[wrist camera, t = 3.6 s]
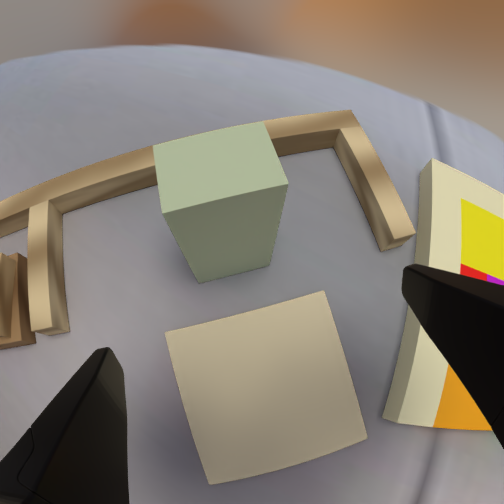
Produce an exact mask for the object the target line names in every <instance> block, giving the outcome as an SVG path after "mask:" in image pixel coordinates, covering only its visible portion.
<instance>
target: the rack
mask: <svg viewBox="0 0 504 504" xmlns="http://www.w3.org/2000/svg"><path fill="white" fill-rule="evenodd" d="M260 122H261V121H260ZM263 122H264V125H265V127H266V129H267V132H268V134H269V136H270V139H271V141H272V144H273V146H274V149H275V151H276V153H277V156H278V157H279V156H284V155H289V154H295V153H301V152H307V151H313V150H319V149H325V148H331V147H334V149H335V151H336V153H337V155H338V157H339V159H340V161H341V163H342V165H343V167H344V169H345V171H346V174H347V176H348V178H349V180H350V182H351V184H352V186H353V188H354V190H355V193H356V195H357V197H358V199H359V201H360V204H361V206H362V208H363V210H364V213H365V215H366V217H367V219H368V222H369V224H370V226H371V229H372V231H373V234H374V236H375V238H376V241H377V243H378V246H379V248H380V251H381V252H382V251H385V250H389V249H392V248H395V247H398V246H401V245H403V244H404V243H405V242H406V241H407V240H408V239H410V238H411V237H412V236H413V235H414V234H415V233H416V232H415V230H414V228H413V225H412V223H411V221H410V219H409V217H408V214H407V212H406V210H405V208H404V206H403V204H402V202H401V200H400V197H399V195H398V193H397V191H396V189H395V187H394V185H393V183H392V181H391V179H390V178H389V176H388V174H387V172H386V170H385V168H384V166H383V164H382V162H381V161H380V159H379V157H378V155H377V153H376V152H375V150H374V148H373V146H372V144H371V143H370V141H369V139H368V138H367V136H366V134H365V132H364V131H363V129H362V127H361V126H360V124H359V122H358V121H357V119H356V118H355V116H354V114H353V113H352V111H351V110H343V111H333V112H324V113H315V114H307V115H299V116H292V117H285V118H278V119H272V120H266V121H263ZM254 123H256V122H254ZM249 124H250V123H249ZM243 125H244V124H243ZM238 126H239V125H238ZM233 127H234V126H233ZM228 128H229V127H228ZM223 129H224V128H223ZM218 130H219V129H218ZM213 131H215V130H213ZM209 132H210V131H209ZM204 133H205V132H204ZM200 134H201V133H200ZM196 135H197V134H196ZM191 136H192V135H191ZM187 137H188V136H187ZM183 138H184V137H183ZM179 139H180V138H179ZM175 140H176V139H175ZM171 141H172V140H171ZM167 142H168V141H167ZM164 143H165V142H164ZM160 144H161V143H160ZM156 145H157V144H156ZM157 184H158V182H157V175H156V168H155V160H154V152H153V146H149V147H146V148H142V149H139V150H135V151H132V152H129V153H125V154H122V155H119V156H116V157H113V158H109V159H106V160H103V161H100V162H97V163H94V164H92V165H89V166H86V167H83V168H80V169H77V170H75V171H72V172H69V173H67V174H64V175H61V176H59V177H56V178H54V179H51V180H49V181H46V182H44V183H41V184H39V185H36V186H34V187H32V188H29V189H27V190H25V191H22V192H20V193H18V194H16V195H13V196H11V197H9V198H7V199H5V200H2V201H0V238H1V237H3V236H6V235H8V234H10V233H13V232H15V231H18V230H21V229H23V228H26V227H28V259H27V262H28V297H29V312H30V323H31V331H33V332H37V333H41V334H45V335H49V336H50V335H55V334H60V333H65V332H70V329H69V322H68V314H67V305H66V295H65V283H64V268H63V243H62V214H64V213H67V212H69V211H72V210H75V209H78V208H81V207H84V206H87V205H90V204H93V203H97V202H100V201H103V200H106V199H109V198H112V197H116V196H119V195H122V194H126V193H129V192H132V191H136V190H139V189H143V188H146V187H150V186H154V185H157Z"/></svg>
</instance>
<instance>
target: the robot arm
mask: <svg viewBox="0 0 504 504" xmlns="http://www.w3.org/2000/svg"><path fill="white" fill-rule="evenodd" d="M402 294H403V297H404V298H405V300H406V301H407V303H408V305H409V306H410V308H411V309H412V311H413V313H414V314H415V316H416V318H417V319H418V321H419V322H420V324H421V326H422V327H423V329H424V330H425V332H426V333H427V335H428V336H429V338H430V339H431V340H432V342H433V343H434V344H435V346H436V347H437V348H438V350H439V351H440V352H441V354H442V355H443V357H444V358H445V359H446V361H447V362H448V364H449V365H450V366H451V368H452V369H453V371H454V372H455V373H456V375H457V376H458V378H459V379H460V381H461V382H462V384H463V385H464V387H465V388H466V390H467V391H468V392H469V394H470V395H471V397H472V399H473V400H474V402H475V403H476V405H477V406H478V408H479V409H480V411H481V412H482V414H483V415H484V417H485V419H486V420H487V422H488V423H489V425H490V426H491V429H492V430H493V432H494V434H495V435H496V437H497V439H498V440H499V442H500V444H501V445H502V447H503V449H504V285H500V284H496V283H492V282H489V281H485V280H481V279H477V278H473V277H469V276H465V275H461V274H457V273H453V272H449V271H445V270H441V269H437V268H433V267H428V266H424V265H420V264H412V265H409V266H406V267H405V268H404V270H403V278H402ZM0 504H129V489H128V464H127V410H126V398H125V385H124V373H123V369H122V367H121V365H120V363H119V362H118V360H117V358H116V356H115V355H114V353H113V351H112V350H111V349H110V348H109V347H105V348H100V349H97V350H95V352H94V353H93V354H92V355H91V356H90V357H89V358H88V359H87V361H86V362H85V363H84V364H83V365H82V366H81V367H80V368H79V370H78V371H77V372H76V373H75V374H74V375H73V376H72V378H71V379H70V380H69V381H68V382H67V383H66V385H65V386H64V387H63V388H62V389H61V390H60V392H59V393H58V394H57V395H56V396H55V397H54V399H53V400H52V401H51V402H50V403H49V405H48V406H47V407H46V408H45V409H44V411H43V412H42V413H41V414H40V415H39V417H38V418H37V419H36V420H35V421H34V423H33V424H32V425H31V428H29V429H28V430H27V431H26V433H25V434H24V435H23V436H22V437H21V439H20V440H19V441H18V442H17V443H16V445H15V446H14V447H13V448H12V449H11V450H10V451H9V453H8V454H7V455H6V456H5V457H4V458H3V459H2V460H1V461H0Z"/></svg>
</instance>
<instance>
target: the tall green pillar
mask: <svg viewBox="0 0 504 504" xmlns="http://www.w3.org/2000/svg"><path fill="white" fill-rule="evenodd" d="M153 152H154V160H155V168H156V175H157V182H158V189H159V195H160V202H161V208H162V214H163V216H164V218H165V220H166V222H167V224H168V226H169V228H170V230H171V232H172V233H173V235H174V237H175V239H176V241H177V243H178V245H179V247H180V249H181V251H182V253H183V255H184V256H185V258H186V260H187V262H188V264H189V266H190V268H191V270H192V271H193V273H194V275H195V277H196V279H197V281H198V283H199V284H200V283H204V282H208V281H211V280H215V279H219V278H223V277H227V276H231V275H235V274H239V273H243V272H247V271H251V270H254V269H258V268H262V267H266V266H269V265H270V261H271V257H272V253H273V248H274V244H275V240H276V236H277V231H278V227H279V223H280V219H281V214H282V210H283V206H284V201H285V197H286V193H287V188H288V184H289V183H288V181H287V178H286V176H285V173H284V171H283V168H282V166H281V163H280V161H279V158H278V156H277V153H276V151H275V149H274V146H273V144H272V141H271V139H270V136H269V134H268V132H267V129H266V127H265V125H264V122H263V121H261V122H256V123H250V124H244V125H239V126H234V127H229V128H224V129H219V130H215V131H210V132H205V133H201V134H197V135H192V136H188V137H184V138H180V139H176V140H172V141H168V142H165V143H161V144H157V145H153Z"/></svg>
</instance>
